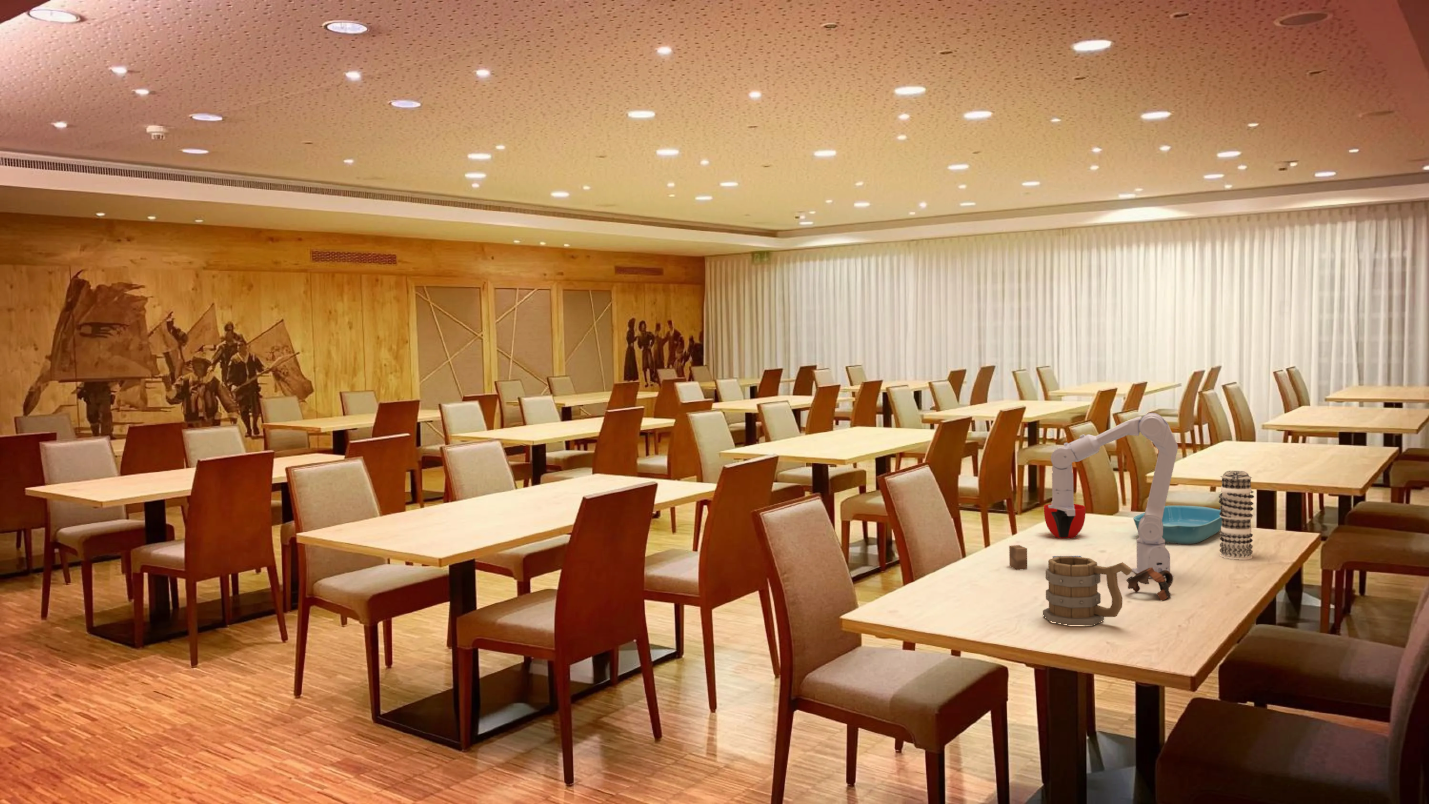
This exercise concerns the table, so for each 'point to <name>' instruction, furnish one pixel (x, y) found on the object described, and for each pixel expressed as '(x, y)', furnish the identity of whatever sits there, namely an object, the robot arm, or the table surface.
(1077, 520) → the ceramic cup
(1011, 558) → the walnut block
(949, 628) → the table surface
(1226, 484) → the decorative candle
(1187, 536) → the casserole dish
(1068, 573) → the tankard
